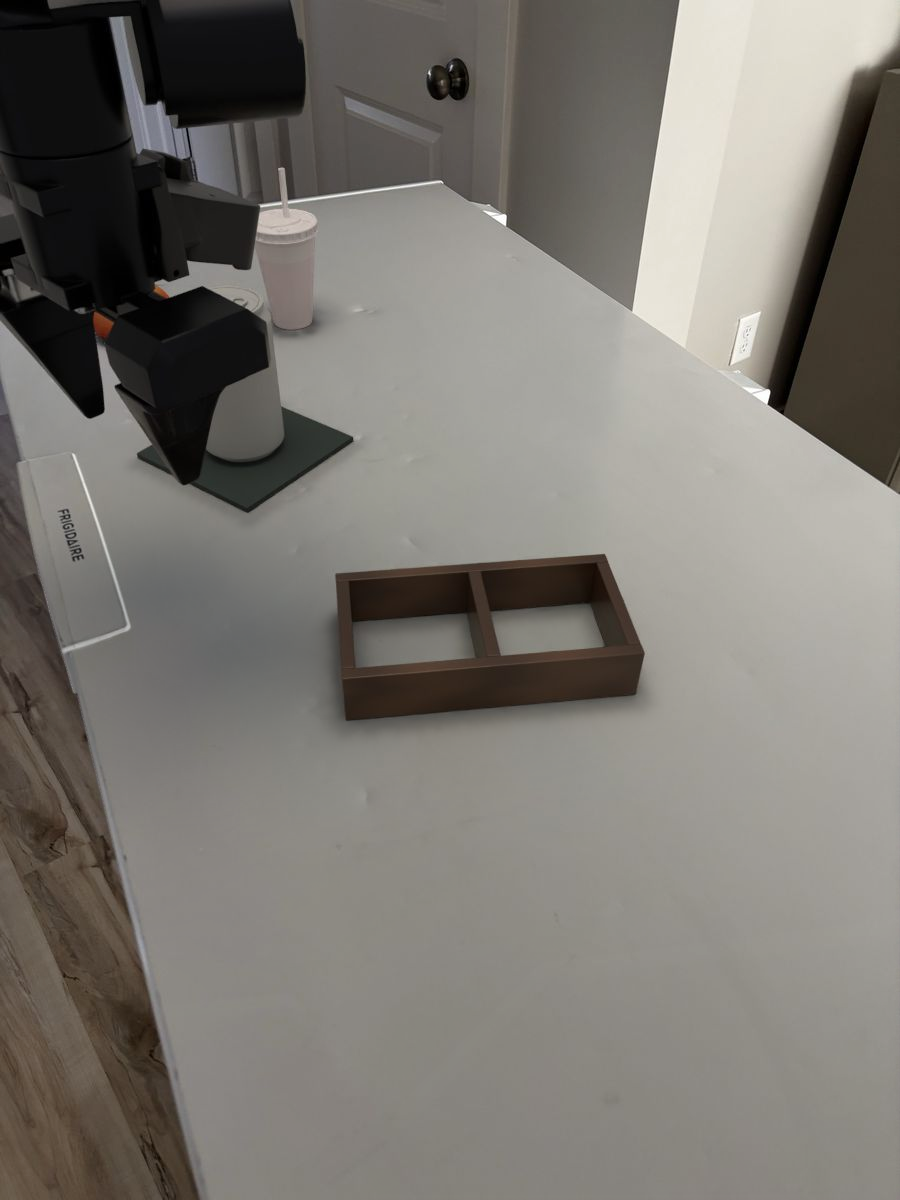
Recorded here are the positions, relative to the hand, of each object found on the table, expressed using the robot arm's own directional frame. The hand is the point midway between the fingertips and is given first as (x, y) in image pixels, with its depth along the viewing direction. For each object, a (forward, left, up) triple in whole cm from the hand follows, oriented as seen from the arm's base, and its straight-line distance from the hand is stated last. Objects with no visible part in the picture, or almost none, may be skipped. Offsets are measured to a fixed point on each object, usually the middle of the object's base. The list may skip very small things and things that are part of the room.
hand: (140, 446), depth 50 cm
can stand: (+16, +11, -13) cm, 23 cm away
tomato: (-37, +20, -13) cm, 44 cm away
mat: (-13, +15, -13) cm, 24 cm away
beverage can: (-13, +15, -13) cm, 23 cm away
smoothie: (-28, +32, -13) cm, 44 cm away
